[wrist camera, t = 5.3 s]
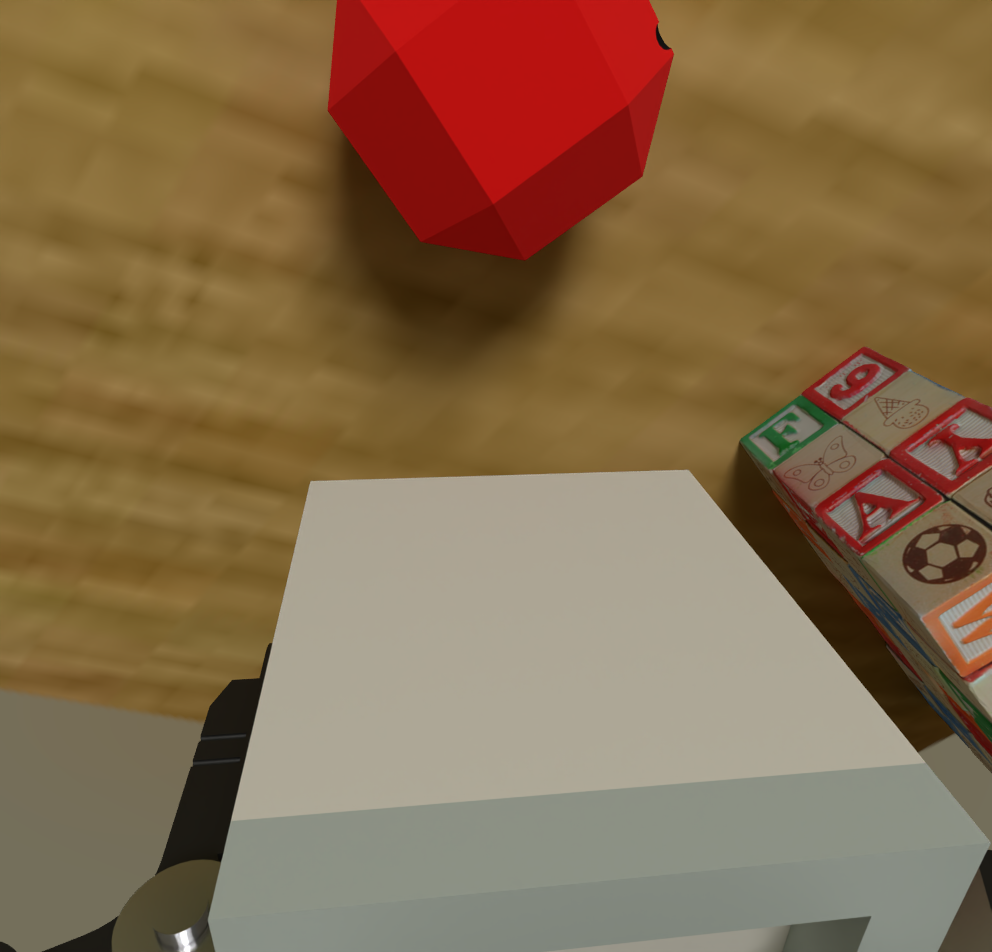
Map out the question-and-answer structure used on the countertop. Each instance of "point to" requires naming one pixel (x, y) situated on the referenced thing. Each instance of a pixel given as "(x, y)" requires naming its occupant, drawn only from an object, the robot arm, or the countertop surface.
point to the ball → (498, 111)
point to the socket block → (569, 740)
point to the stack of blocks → (899, 519)
